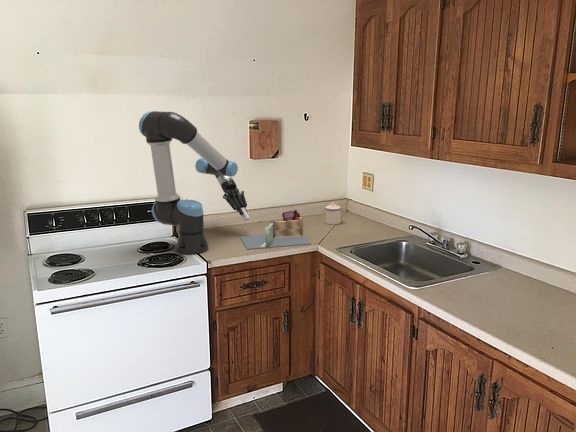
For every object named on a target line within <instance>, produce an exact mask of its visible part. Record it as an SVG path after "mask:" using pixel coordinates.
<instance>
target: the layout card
mask: <svg viewBox="0 0 576 432" xmlns="http://www.w3.org/2000/svg"><path fill="white" fill-rule="evenodd" d="M239 238H240V240H241V242H242V244H243V245H244V248H245V250H247V251H248V250H258V249H259V250H260V249H269V248H282V247H293V246H294V247H295V246H307V245H312V242H311V241H309V239H307V237H305V236H304V234H303V235H302V236H288V237H276V232H275V238H272V240H271V241H270V243H269V246H265V233H263V234H262V233H261V234H251V235H250V234H249V235H239Z"/></svg>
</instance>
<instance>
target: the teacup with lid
mask: <svg viewBox="0 0 576 432" xmlns="http://www.w3.org/2000/svg"><path fill="white" fill-rule="evenodd" d="M324 216H325V224H327V225H333V226H334V225H340V224H341V221H342V220H341V218H342V207H341V206H340V205H338V204H336V202H331V203H330V204H329V205H326V206H325V207H324Z"/></svg>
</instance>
